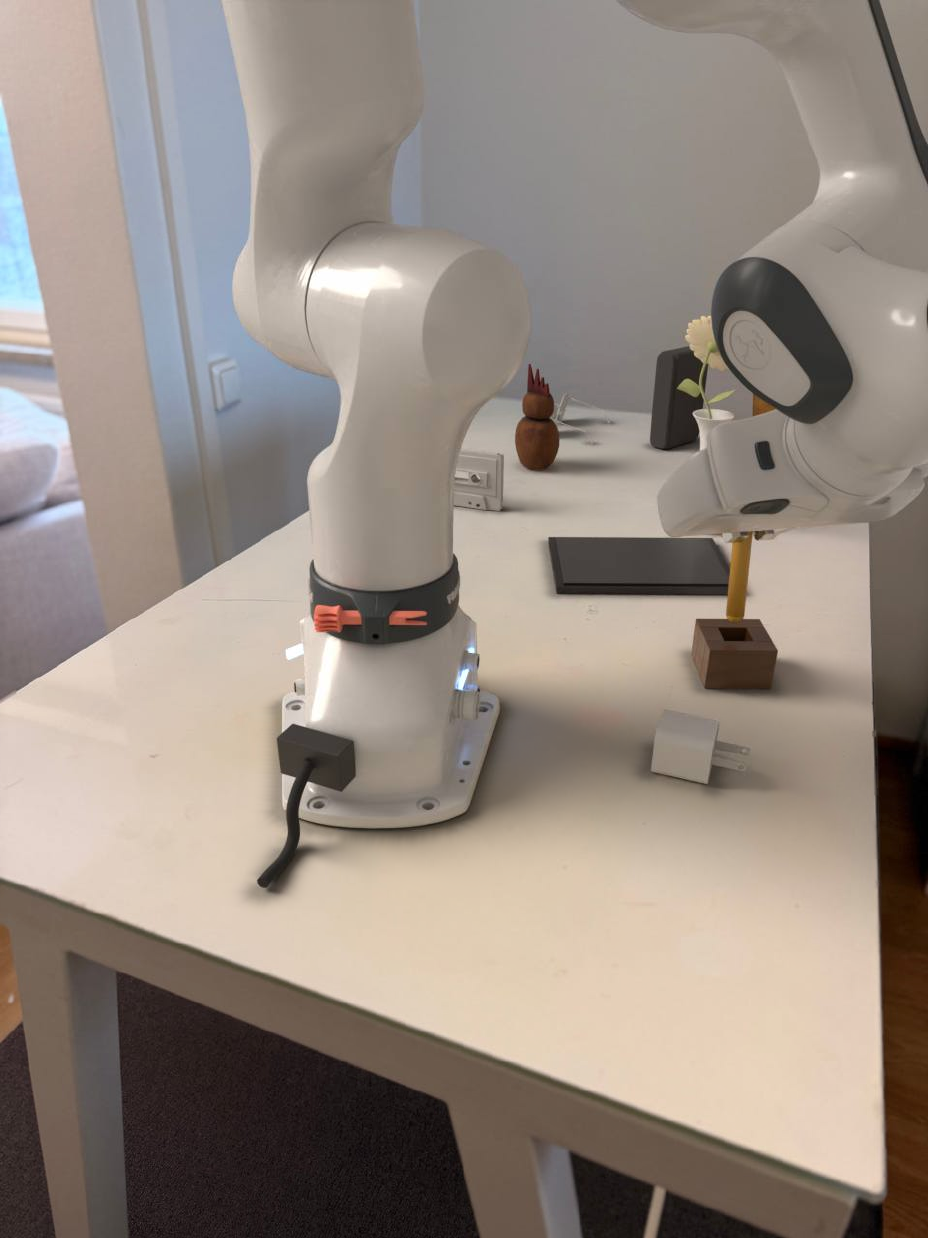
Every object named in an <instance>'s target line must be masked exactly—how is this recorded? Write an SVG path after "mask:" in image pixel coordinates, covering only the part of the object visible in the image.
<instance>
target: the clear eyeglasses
mask: <svg viewBox="0 0 928 1238" xmlns="http://www.w3.org/2000/svg"><path fill="white" fill-rule="evenodd" d="M569 400H572V401H574V402H577V403H580V404H583V405H586V406H589V407H592V408H595V410H599V411H601V412H603V413H604V415H605V418H606V420H607V423H608V424H610V423H611V421H610V420H609V416H608V415H607V413H606V412H605V410H603V409H601V408H598V407H595V406H592V405H590V404H588V403H585V402H582V401H580V400H577V399H575V398H572V397H570V396H569V393H567V392H566V393H565V394H564V395H563V396H562V399H561V401H560V405H559V406H558V404H555V403H554V412H553V414H552V416H551V417H550V419H552V420H553V421H554V423H557V424H561V425H564V426H568V427H570V428H573V429H576V430H578V431H581V432H583V433H585V434H586V435H587V436H588V438H589V441H590V442H591V443H590V444H592V445H593V444H594V442H593V440H592V437H591V436H590V434H589V433H588V432H587V431H586V430H584V429H581V428H578V427H575V426H572V425H569V424H568V423H564V422H562V419H563V418H564V416H565V412H566V408H567V405H568V402H569Z"/></svg>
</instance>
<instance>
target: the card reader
mask: <svg viewBox="0 0 928 1238" xmlns="http://www.w3.org/2000/svg"><path fill="white" fill-rule="evenodd" d="M689 346H690V345H687V346H683V347H677V348H673V349H669V350H663V351H661V352H660V354H658V355H657V359H656V365H655V373H654V374H655V376H654V387H653V397H652V406H651V407H652V408H651V418H650V419H651V420H650V432H649V442H650V445H651V447H654V448H658V449H662V450H669V449H672V448H676V447H679V446H682V445H685V444H688V443H692V442H695V441H696V440H697V439H698V437H700V431H699V426H698V423H697V421H696V419H695V417H694V416H693V412H694V411H696V410H700V409H704V404H705V402H704V399H703V397H702V394H701V392H700V394H699V395H698V396H697V397H693V396H692V395H690V394H688V393H686V392H684V391H682V390H679V389H677V388H678V386H679V385H680V384H681V383H682V382H683V381H684V380H685V379H690V380H692V381H693V382H695V383H696V384H697V385H699V378H700V374H701V370H702V367H703V364H704V363H702V361H701V360H700V359H699V358H697V357H696V356H695V355H694V351H692V350H691V349H690V347H689ZM708 370H709V363H708V364H706V367H705V370H704V373H703V377H702V387H703V391H704V394H705V392H706V386H707V380H708V379H707V378H708ZM705 395H706V394H705Z"/></svg>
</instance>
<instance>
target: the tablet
mask: <svg viewBox="0 0 928 1238" xmlns="http://www.w3.org/2000/svg"><path fill="white" fill-rule="evenodd" d="M547 544H548V550H549V555H550V562H551V568H552V575H553V581H554V588H555V593H556V594H557V595H560V594H562V595H563V594H565V595H566V594H567V595H568V594H569V595H570V594H571V595H573V594H574V595H575V594H576V595H577V594H578V595H581V594H582V595H597V594H598V595H696V596H697V595H698V596H699V595H709V596H710V595H711V596H713V595H714V596H715V595H717V596H718V595H721V596H726V595H727V596H728V587H729V576H730V566H729V564H728V563H727V561H726V559H725V557H724V556H723V554H722V552H721V550H720V549H719V547H718V545H717V543H716V542H715V540H714V538H713V537H639V536H637V537H635V536H634V537H633V536H632V537H630V536H629V537H628V536H627V537H622V536H621V537H619V536H618V537H617V536H615V537H614V536H613V537H611V536H610V537H609V536H607V537H606V536H595V537H594V536H548V538H547Z"/></svg>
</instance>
